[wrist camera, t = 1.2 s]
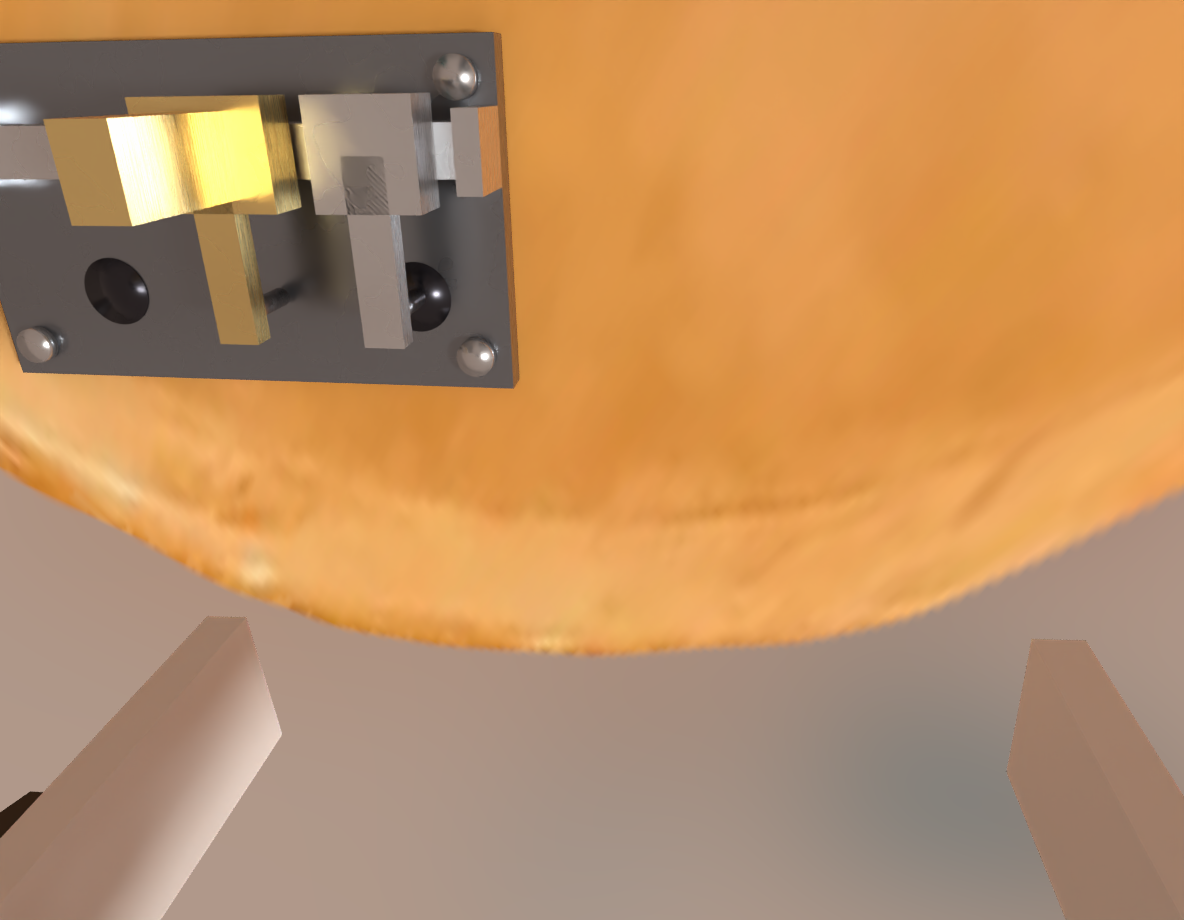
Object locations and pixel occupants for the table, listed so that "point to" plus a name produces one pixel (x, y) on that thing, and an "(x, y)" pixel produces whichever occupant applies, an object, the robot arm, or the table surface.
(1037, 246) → the table surface
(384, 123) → the grey long bar piece
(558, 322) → the table surface
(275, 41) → the bolt plate
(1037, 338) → the table surface
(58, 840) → the robot arm
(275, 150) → the sliding leg
